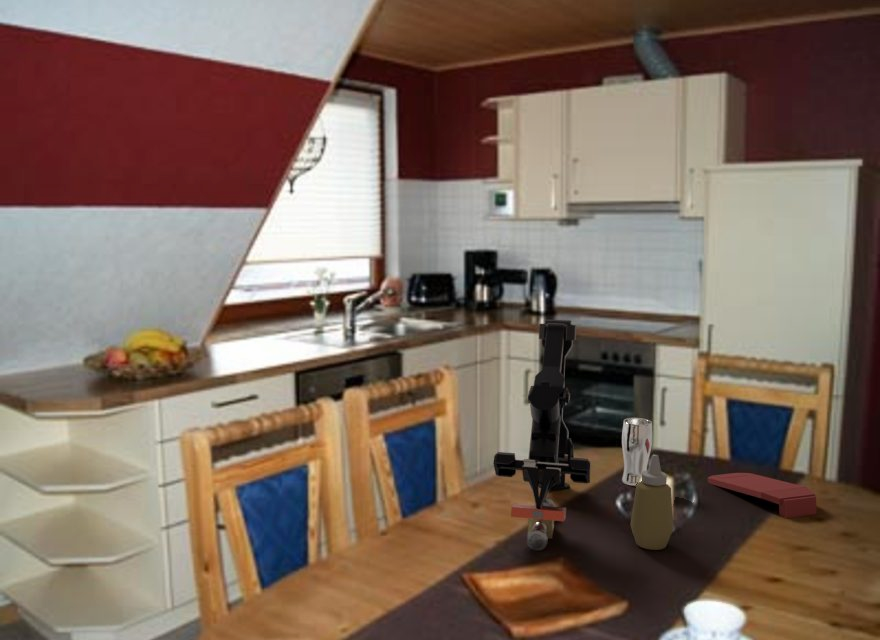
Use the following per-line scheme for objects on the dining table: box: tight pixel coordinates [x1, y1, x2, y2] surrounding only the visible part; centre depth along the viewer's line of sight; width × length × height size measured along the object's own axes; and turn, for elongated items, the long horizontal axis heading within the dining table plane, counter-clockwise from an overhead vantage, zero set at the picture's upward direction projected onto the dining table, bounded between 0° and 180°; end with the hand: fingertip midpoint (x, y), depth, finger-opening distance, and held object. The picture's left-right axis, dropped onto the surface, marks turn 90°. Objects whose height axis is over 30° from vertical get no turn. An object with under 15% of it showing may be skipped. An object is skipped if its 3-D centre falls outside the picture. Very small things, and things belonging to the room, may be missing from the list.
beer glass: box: [621, 417, 653, 487], centre depth 190 cm, size 7×7×15 cm
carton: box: [707, 472, 818, 519], centre depth 183 cm, size 12×5×25 cm
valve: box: [526, 497, 556, 552], centre depth 161 cm, size 18×5×4 cm, turn 168°
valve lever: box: [510, 503, 567, 522], centre depth 156 cm, size 2×10×11 cm
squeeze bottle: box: [629, 454, 674, 551], centre depth 154 cm, size 8×8×18 cm
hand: (538, 507), depth 152 cm, fingers closed, pressing on valve lever
